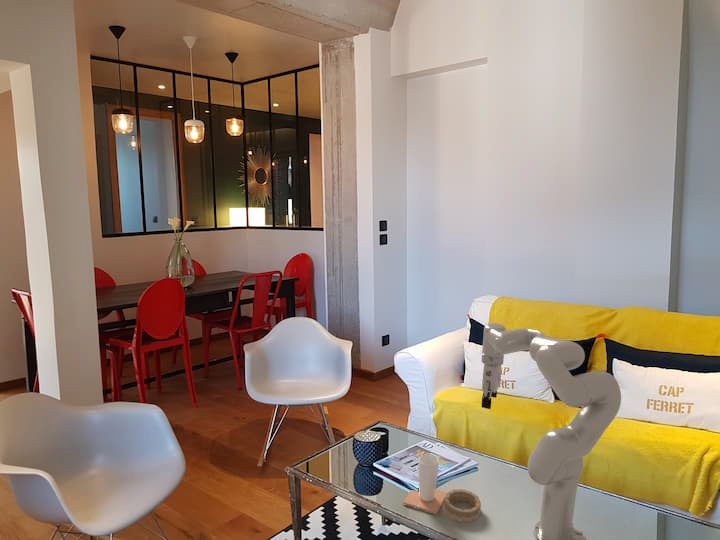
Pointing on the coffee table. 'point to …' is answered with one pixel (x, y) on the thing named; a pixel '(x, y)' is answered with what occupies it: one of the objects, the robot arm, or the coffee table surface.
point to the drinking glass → (427, 476)
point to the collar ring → (460, 514)
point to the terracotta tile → (429, 506)
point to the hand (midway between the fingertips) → (489, 402)
